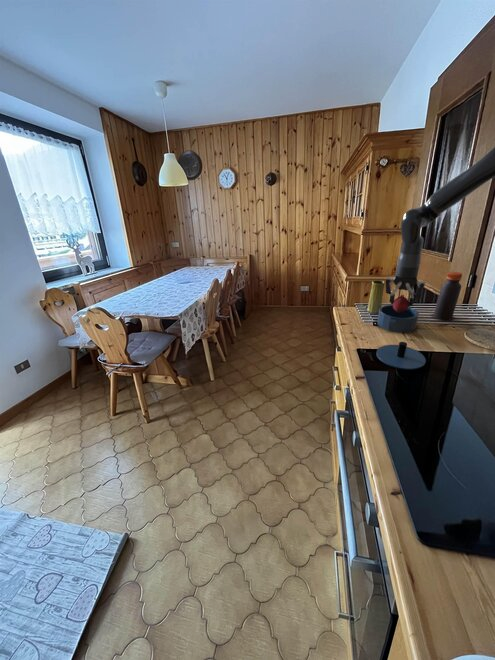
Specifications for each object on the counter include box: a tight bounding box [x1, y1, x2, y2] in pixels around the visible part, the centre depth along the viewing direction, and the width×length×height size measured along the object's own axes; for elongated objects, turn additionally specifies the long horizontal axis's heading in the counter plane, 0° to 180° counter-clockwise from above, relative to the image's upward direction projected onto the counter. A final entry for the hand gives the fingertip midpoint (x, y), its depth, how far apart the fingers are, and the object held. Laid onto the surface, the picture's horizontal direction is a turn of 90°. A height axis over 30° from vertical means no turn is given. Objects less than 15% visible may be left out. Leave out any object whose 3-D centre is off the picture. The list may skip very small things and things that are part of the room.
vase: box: [366, 279, 386, 314], centre depth 131 cm, size 6×6×14 cm
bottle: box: [433, 271, 463, 322], centre depth 119 cm, size 7×7×20 cm
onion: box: [392, 293, 409, 313], centre depth 116 cm, size 6×6×8 cm
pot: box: [377, 304, 419, 333], centre depth 119 cm, size 14×20×6 cm
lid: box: [375, 341, 427, 371], centre depth 97 cm, size 15×15×6 cm
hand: (400, 304), depth 116 cm, fingers closed on onion, 6 cm apart
